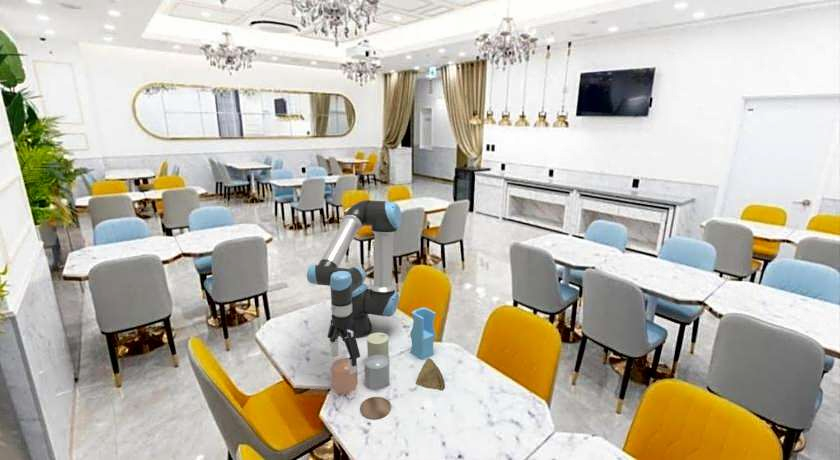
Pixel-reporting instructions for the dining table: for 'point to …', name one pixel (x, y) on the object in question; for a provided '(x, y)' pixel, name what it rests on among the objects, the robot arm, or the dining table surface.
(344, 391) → the cup terracotta
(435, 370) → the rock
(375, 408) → the coaster
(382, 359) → the cup grey
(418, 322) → the blue notched block
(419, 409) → the dining table surface
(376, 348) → the can
